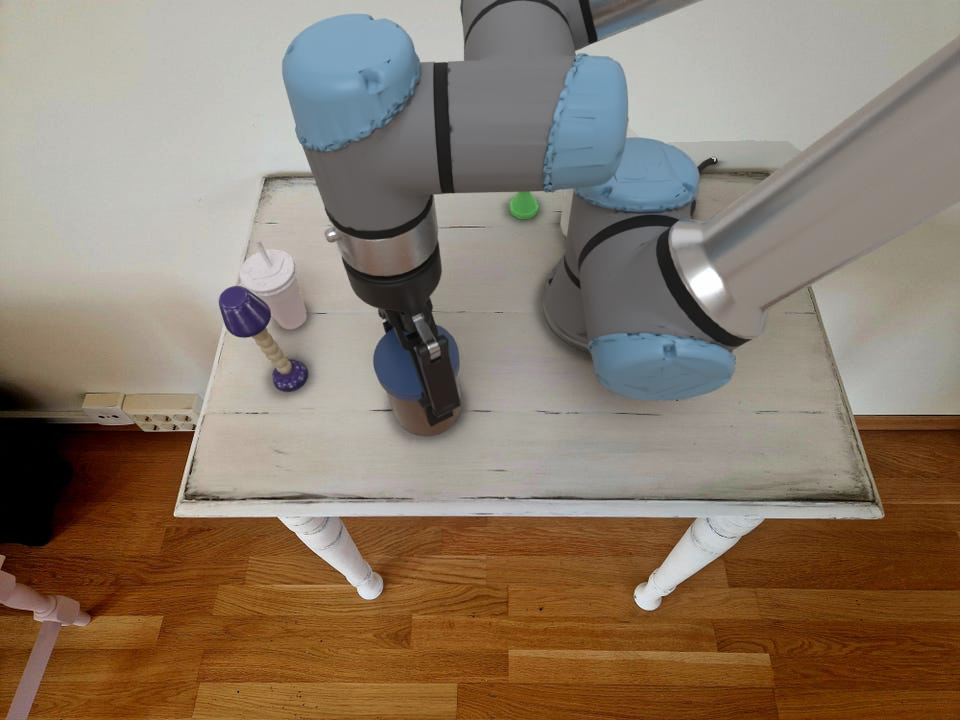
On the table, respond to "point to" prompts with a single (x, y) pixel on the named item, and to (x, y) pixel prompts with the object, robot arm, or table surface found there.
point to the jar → (420, 416)
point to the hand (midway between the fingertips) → (421, 384)
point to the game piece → (523, 206)
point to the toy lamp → (260, 334)
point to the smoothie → (275, 285)
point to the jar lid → (404, 366)
